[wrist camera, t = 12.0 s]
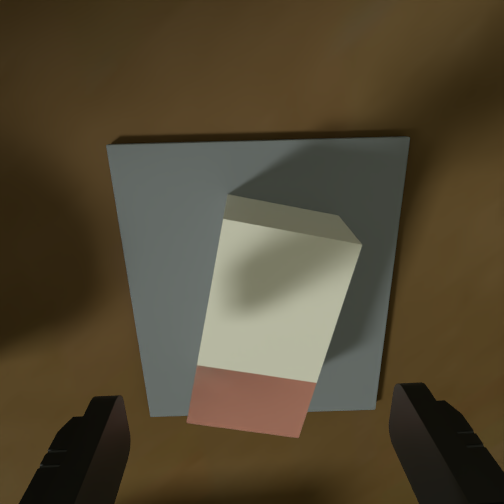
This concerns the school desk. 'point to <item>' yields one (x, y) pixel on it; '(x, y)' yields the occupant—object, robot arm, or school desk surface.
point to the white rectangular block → (270, 315)
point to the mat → (208, 234)
